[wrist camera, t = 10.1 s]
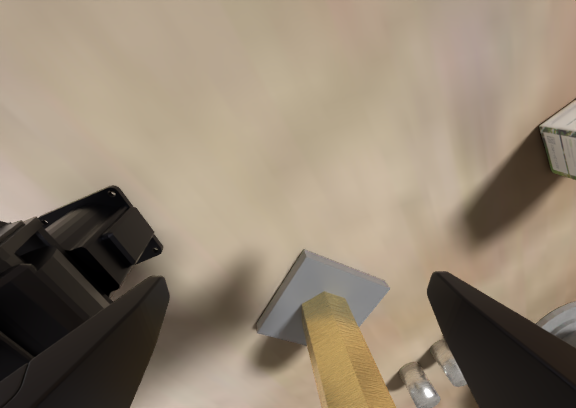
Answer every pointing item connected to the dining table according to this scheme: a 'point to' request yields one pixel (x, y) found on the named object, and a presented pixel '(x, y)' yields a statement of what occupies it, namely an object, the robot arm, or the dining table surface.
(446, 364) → the cylinder
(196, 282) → the dining table surface
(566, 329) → the mate gourd
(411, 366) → the cylinder
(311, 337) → the tan faceted block
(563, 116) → the small white pieces
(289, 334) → the coaster
